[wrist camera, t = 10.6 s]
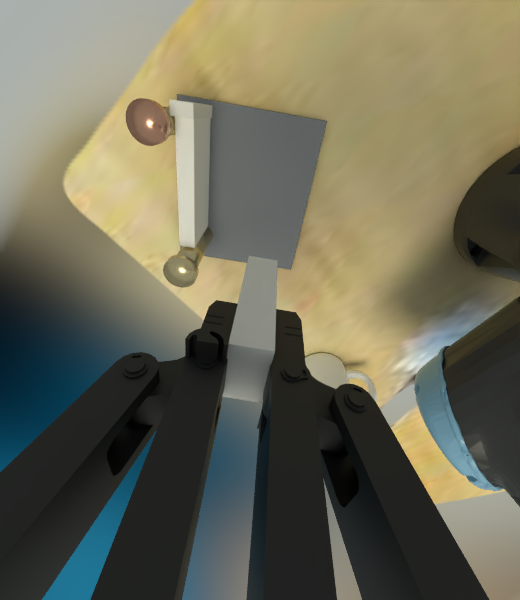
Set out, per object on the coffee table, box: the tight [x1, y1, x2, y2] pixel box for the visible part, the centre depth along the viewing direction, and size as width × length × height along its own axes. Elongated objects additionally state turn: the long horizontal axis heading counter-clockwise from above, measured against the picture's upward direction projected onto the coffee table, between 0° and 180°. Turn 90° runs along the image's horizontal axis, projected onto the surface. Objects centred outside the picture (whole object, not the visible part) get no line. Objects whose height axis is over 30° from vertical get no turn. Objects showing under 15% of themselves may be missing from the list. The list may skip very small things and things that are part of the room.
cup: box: [305, 353, 377, 402], centre depth 44 cm, size 8×12×10 cm
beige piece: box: [169, 99, 212, 248], centre depth 27 cm, size 12×2×7 cm, turn 172°
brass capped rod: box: [126, 98, 175, 146], centre depth 24 cm, size 3×3×11 cm
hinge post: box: [163, 227, 213, 287], centre depth 31 cm, size 3×3×11 cm
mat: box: [177, 94, 327, 270], centre depth 32 cm, size 15×17×1 cm
